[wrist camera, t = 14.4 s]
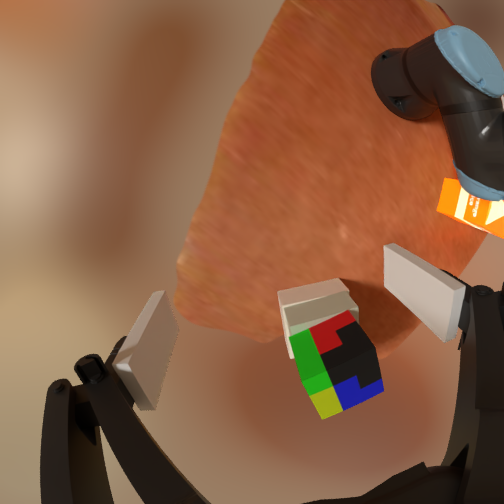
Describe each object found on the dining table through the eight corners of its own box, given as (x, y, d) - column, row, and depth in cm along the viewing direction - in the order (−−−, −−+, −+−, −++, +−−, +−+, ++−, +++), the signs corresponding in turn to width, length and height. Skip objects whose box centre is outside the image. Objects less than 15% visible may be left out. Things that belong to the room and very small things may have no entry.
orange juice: (459, 222, 48) (522, 247, 29) (436, 211, 47) (504, 235, 28) (467, 190, 46) (532, 207, 27) (444, 176, 45) (514, 189, 26)
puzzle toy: (361, 352, 42) (384, 390, 32) (308, 376, 43) (322, 419, 33) (348, 309, 39) (375, 347, 30) (288, 337, 40) (301, 381, 30)
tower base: (337, 277, 51) (349, 290, 45) (340, 327, 54) (350, 343, 48) (276, 290, 51) (281, 305, 45) (285, 340, 54) (290, 358, 49)
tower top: (344, 290, 45) (358, 306, 39) (349, 339, 48) (360, 358, 42) (283, 307, 45) (289, 326, 39) (294, 355, 48) (300, 376, 43)
